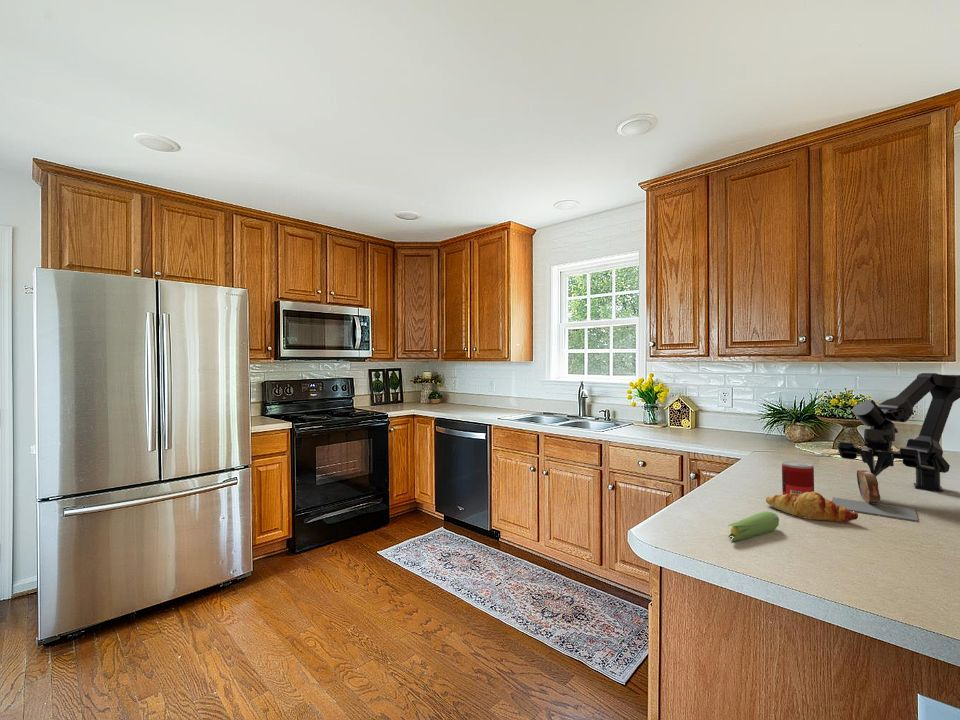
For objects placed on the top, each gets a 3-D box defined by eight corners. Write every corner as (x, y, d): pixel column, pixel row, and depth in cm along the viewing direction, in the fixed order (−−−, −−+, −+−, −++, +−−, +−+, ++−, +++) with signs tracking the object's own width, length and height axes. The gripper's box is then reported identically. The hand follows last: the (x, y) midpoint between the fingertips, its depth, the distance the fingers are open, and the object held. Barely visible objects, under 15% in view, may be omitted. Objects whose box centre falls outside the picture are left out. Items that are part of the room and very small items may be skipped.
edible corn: (787, 515, 111) (769, 504, 115) (735, 531, 103) (717, 520, 106) (782, 532, 113) (764, 522, 117) (730, 550, 104) (713, 538, 108)
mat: (832, 498, 137) (832, 497, 137) (914, 510, 125) (914, 509, 125) (830, 507, 128) (830, 506, 128) (918, 521, 116) (918, 520, 116)
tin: (859, 495, 140) (852, 468, 141) (872, 494, 139) (865, 467, 140) (870, 506, 127) (863, 476, 128) (885, 506, 126) (877, 475, 127)
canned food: (820, 503, 133) (820, 466, 133) (793, 503, 133) (792, 466, 133) (802, 495, 140) (801, 460, 140) (776, 495, 140) (776, 460, 141)
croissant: (762, 519, 129) (756, 498, 127) (772, 497, 135) (767, 476, 133) (856, 539, 113) (851, 515, 111) (863, 513, 119) (859, 489, 117)
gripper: (838, 416, 145) (829, 455, 138) (918, 422, 131) (912, 465, 124) (845, 438, 150) (836, 476, 143) (923, 445, 136) (917, 488, 129)
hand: (873, 476), depth 135 cm, fingers closed
